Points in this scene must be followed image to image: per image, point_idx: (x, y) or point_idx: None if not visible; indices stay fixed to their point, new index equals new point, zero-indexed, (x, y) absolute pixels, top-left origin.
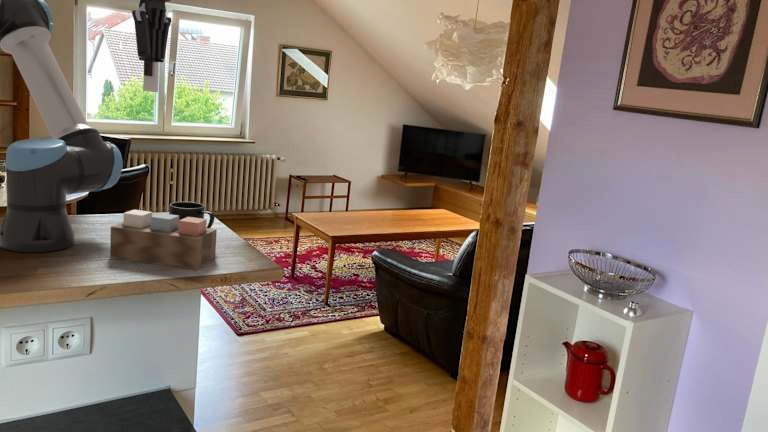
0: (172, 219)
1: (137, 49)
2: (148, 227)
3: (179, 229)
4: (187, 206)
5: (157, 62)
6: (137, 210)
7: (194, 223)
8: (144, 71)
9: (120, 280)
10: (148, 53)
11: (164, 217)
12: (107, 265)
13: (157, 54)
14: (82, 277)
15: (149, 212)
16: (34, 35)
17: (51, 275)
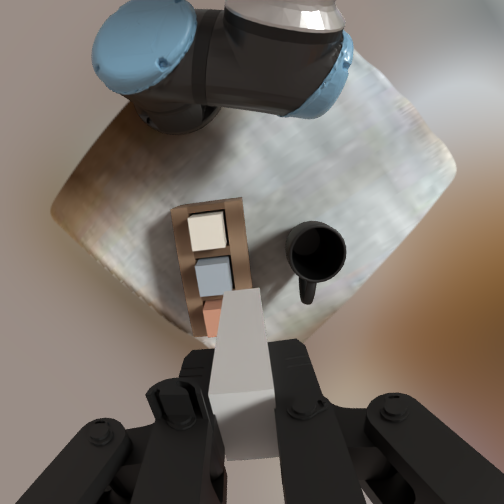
0: (208, 295)
1: (58, 457)
2: (201, 254)
3: (204, 305)
4: (338, 239)
5: (259, 457)
6: (218, 222)
7: (207, 331)
8: (183, 369)
9: (122, 270)
10: (118, 496)
11: (204, 284)
12: (153, 224)
13: (284, 498)
14: (107, 232)
15: (219, 246)
16: None
17: (95, 202)
